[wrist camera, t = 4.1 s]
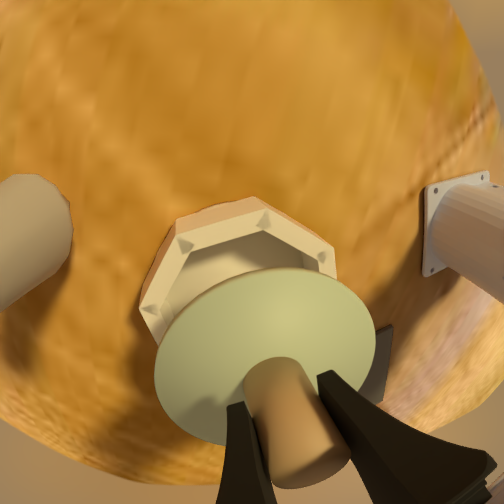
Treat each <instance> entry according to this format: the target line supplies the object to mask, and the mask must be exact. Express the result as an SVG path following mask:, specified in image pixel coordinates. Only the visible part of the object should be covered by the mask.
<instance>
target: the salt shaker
mask: <svg viewBox="0 0 504 504" xmlns="http://www.w3.org/2000/svg"><path fill="white" fill-rule="evenodd" d="M69 208H70V202H69V201H68V200H67V199H66V198H65V197H64V196H63V195H62V194H61V193H60V191H59V190H58V188H57V187H56V185H54V184H53V183H51V182H50V181H48V180H46V179H45V178H43V177H42V176H40V175H38V174H13V175H12V176H10V177H9V178H7V179H6V180H4V181H3V182H1V183H0V312H2V311H3V310H4V309H6V308H7V307H8V306H10V305H11V304H12V303H14V302H15V301H17V300H18V299H19V298H21V297H22V296H23V295H25V294H26V293H28V292H29V291H30V290H32V289H33V288H35V287H36V286H38V285H39V284H40V283H42V282H43V281H45V280H46V279H48V278H49V277H51V276H52V275H54V274H55V273H56V272H57V271H58V270H59V268H60V267H61V265H62V264H63V263H64V261H65V260H66V259H67V257H68V255H69V253H70V248H71V241H72V235H73V230H74V229H73V224H72V219H71V214H70V209H69Z"/></svg>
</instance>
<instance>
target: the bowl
mask: <svg viewBox="0 0 504 504" xmlns="http://www.w3.org/2000/svg"><path fill="white" fill-rule="evenodd" d="M273 267H299V268H304V269H310V270H314V271H317V272H320V273H323V274H326V275H328V276H330V277H332V278H334V279H336V280H337V276H336V265H335V255H334V248H333V247H332V246H331V245H330V244H328V243H327V242H326V241H325V240H323V239H322V238H321V237H320V236H318V235H317V234H316V233H315V232H313V231H312V230H310V229H308V228H307V227H305V226H303V225H302V224H300V223H299V222H297V221H295V220H294V219H292V218H290V217H289V216H287V215H286V214H285V213H283V212H281V211H279V210H277V209H275V208H274V207H272V206H270V205H269V204H267V203H265V202H263V201H262V200H260V199H258V198H257V197H255V196H253V197H249V198H246V199H242V200H238V201H230V202H223V203H219V204H214V205H211V206H209V207H206V208H203V209H201V210H199V211H197V212H195V213H193V214H191V215H188V216H184V217H181V218H178V219H176V220H175V222H174V224H173V226H172V228H171V229H170V231H169V233H168V235H167V237H166V238H165V240H164V241H163V243H162V245H161V246H160V248H159V250H158V252H157V255H156V257H155V260H154V263H153V265H152V267H151V269H150V271H149V273H148V275H147V277H146V279H145V281H144V283H143V287H142V292H141V298H140V304H139V310H140V312H141V314H142V316H143V318H144V320H145V322H146V324H147V326H148V328H149V330H150V332H151V334H152V336H153V337H154V339H155V341H156V343H157V345H158V347H159V343H160V341H161V339H162V337H163V335H164V333H165V330H166V329H167V327H168V326H169V324H170V323H171V322H172V320H173V319H174V317H175V316H176V315H177V314H178V313H179V312H180V311H181V310H182V309H183V308H184V306H185V305H187V304H188V303H189V302H190V301H192V300H193V299H194V298H195V297H196V296H198V295H199V294H201V293H202V292H204V291H205V290H207V289H208V288H210V287H212V286H213V285H215V284H217V283H220V282H222V281H224V280H226V279H228V278H230V277H233V276H236V275H239V274H242V273H245V272H249V271H254V270H258V269H263V268H273Z"/></svg>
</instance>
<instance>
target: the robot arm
mask: <svg viewBox="0 0 504 504" xmlns="http://www.w3.org/2000/svg"><path fill="white" fill-rule="evenodd" d="M434 189H435V190H434ZM424 198H425V222H424V250H423V265H422V275H423V276H424V277H429V276H431V275H433V274H435V273H437V272H439V271H441V270H443V269H445V268H447V267H450V268H451V269H453V270H454V271H456V272H457V273H459V274H460V275H462V276H463V277H465V278H466V279H468V280H469V281H471V282H472V283H474V284H475V285H477V286H478V287H480V288H481V289H483V290H484V291H485V292H487V293H488V294H490V295H491V296H493V297H494V298H495V299H497V300H498V301H500V302H501V303H502V304H504V186H501V185H498V184H495V183H492V182H490V174H489V172H488V171H486V170H483V171H479V172H476V173H472V174H468V175H464V176H460V177H456V178H453V179H449V180H445V181H441V182H437V183H434V184H430V185H427V186H426V188H425V191H424ZM316 377H317V386H318V395H319V397H320V399H321V400H322V402H323V404H324V406H325V407H326V409H327V411H328V413H329V414H330V416H331V418H332V419H333V421H334V423H335V425H336V426H337V428H338V430H339V431H340V433H341V435H342V437H343V438H344V440H345V442H346V443H347V445H348V447H349V448H350V450H351V457H350V459H351V461H352V462H353V464H354V465H355V467H356V469H357V471H358V472H359V475H360V477H361V478H362V481H363V483H364V485H365V487H366V489H367V491H368V493H369V495H370V498H371V500H372V502H373V504H504V472H503V474H501V475H500V476H499V477H498V478H497V479H496V480H495V481H494V482H493V483H492V484H491V485H490V486H489V487H488V488H486V487H485V485H486V484H487V482H486V481H485V478H486V477H487V476H488V475H489V474H490V473H491V472H492V471H493V470H494V469H495V468H496V467H497V463H496V462H495V461H494V459H493V458H492V457H491V456H490V455H489V454H488V453H486V451H483V450H478V449H472V448H468V447H464V446H460V445H456V444H453V443H450V442H446V441H443V440H441V439H438V438H435V437H433V436H430V435H427V434H425V433H423V432H421V431H419V430H416V429H414V428H412V427H410V426H408V425H406V424H404V423H403V422H401V421H399V420H397V419H396V418H394V417H392V416H391V415H389V414H388V413H386V412H384V411H383V410H381V409H380V408H378V407H377V406H376V405H374V404H373V403H372V402H370V401H369V400H367V399H366V398H365V397H363V396H362V395H361V394H360V393H358V392H357V391H356V390H355V389H354V388H352V387H351V386H350V385H349V384H348V383H347V382H345V381H344V380H343V379H342V378H341V377H340V376H339V375H338V374H337V373H336V372H335V371H334V370H332V369H331V370H328V371H326V372H323V373H321V374H318V375H316ZM226 411H227V437H226V449H225V459H224V466H223V472H222V478H221V483H220V488H219V493H218V497H217V500H216V504H277V501H276V498H275V495H274V491H273V487H272V483H271V479H270V474H269V471H268V468H267V465H266V462H265V459H264V456H263V453H262V450H261V446H260V443H259V440H258V436H257V433H256V430H255V426H254V423H253V420H252V417H251V415H250V413H249V411H248V409H247V406H246V404H245V402H244V401H241V402H238V403H234V404H231V405H228V406H227V407H226Z"/></svg>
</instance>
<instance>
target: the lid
mask: <svg viewBox="0 0 504 504" xmlns="http://www.w3.org/2000/svg"><path fill="white" fill-rule="evenodd" d="M375 344H376V340H375V329H374V324H373V321H372V318H371V315H370V313H369V311H368V309H367V308H366V306H365V305H364V303H363V302H362V301H361V300H360V298H359V297H358V296H357V295H356V294H355V293H354V292H352V291H351V290H350V289H349V288H347V287H346V286H345V285H344V284H342V283H341V282H340V281H338V280H336V279H334V278H332V277H330V276H328V275H326V274H323V273H320V272H317V271H314V270H310V269H304V268H299V267H273V268H263V269H258V270H254V271H249V272H245V273H242V274H239V275H236V276H233V277H230V278H228V279H226V280H224V281H222V282H220V283H217V284H215V285H213V286H212V287H210V288H208V289H207V290H205V291H204V292H202V293H201V294H199V295H198V296H196V297H195V298H194V299H193V300H192V301H190V302H189V303H188V304H187V305H185V306H184V308H183V309H182V310H181V311H180V312H179V313H178V314H177V315H176V316H175V317H174V319H173V320H172V322H171V323H170V324H169V326H168V327H167V329H166V330H165V333H164V335H163V337H162V339H161V341H160V343H159V347H158V350H157V354H156V361H155V370H154V382H155V389H156V393H157V396H158V399H159V401H160V403H161V405H162V407H163V409H164V410H165V412H166V413H167V415H168V416H169V417H170V418H171V419H172V420H173V421H174V422H175V423H176V424H177V425H178V426H179V427H180V428H182V429H183V430H184V431H186V432H188V433H189V434H191V435H193V436H195V437H197V438H199V439H202V440H204V441H207V442H210V443H213V444H217V445H222V446H226V437H227V411H226V407H227V406H228V405H231V404H234V403H238V402H241V401H244V402H245V404H246V406H247V409H248V411H249V413H250V415H251V417H252V420H253V423H254V426H255V430H256V433H257V436H258V440H259V443H260V446H261V450H262V453H263V456H264V459H265V462H266V465H267V468H268V471H269V474H270V477H271V480H272V483H273V484H274V485H275V486H276V487H279V488H283V489H297V488H303V487H307V486H310V485H313V484H316V483H319V482H321V481H323V480H325V479H327V478H329V477H331V476H333V475H334V474H336V473H337V472H338V471H339V470H341V469H342V468H343V467H344V466H345V465H346V464H347V463H348V461H349V459H350V457H351V450H350V448H349V447H348V445H347V443H346V442H345V440H344V438H343V437H342V435H341V433H340V431H339V430H338V428H337V426H336V425H335V423H334V421H333V419H332V418H331V416H330V414H329V413H328V411H327V409H326V407H325V406H324V404H323V402H322V400H321V399H320V397H319V395H318V386H317V377H316V375H318V374H321V373H323V372H326V371H328V370H331V369H332V370H334V371H335V372H336V373H337V374H338V375H339V376H340V377H341V378H342V379H343V380H344V381H345V382H347V383H348V384H349V385H350V386H351V387H352V388H354V389H355V390H356V391H357V392H358V390H359V389H360V387H361V386H362V384H363V382H364V380H365V379H366V377H367V375H368V372H369V370H370V367H371V365H372V361H373V357H374V353H375Z"/></svg>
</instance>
